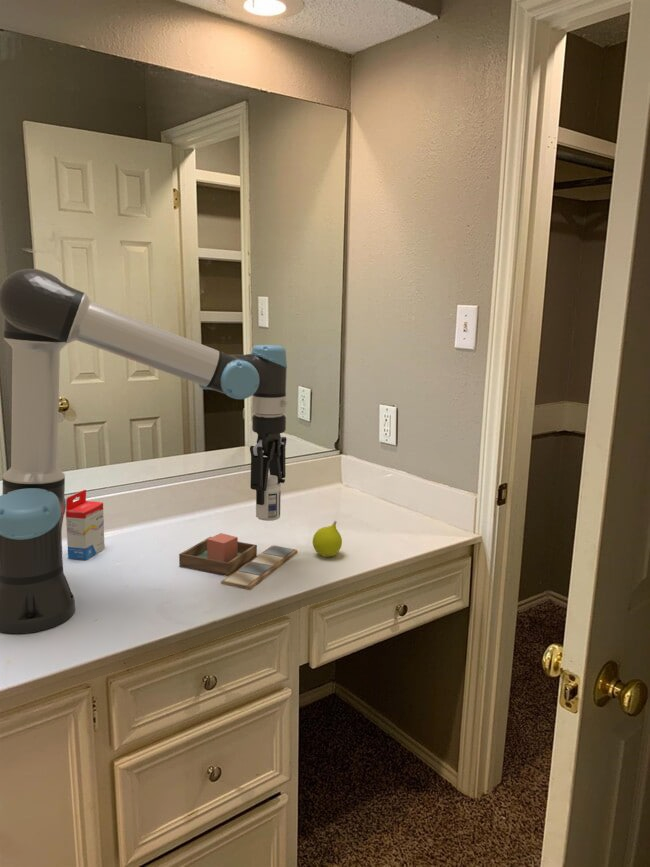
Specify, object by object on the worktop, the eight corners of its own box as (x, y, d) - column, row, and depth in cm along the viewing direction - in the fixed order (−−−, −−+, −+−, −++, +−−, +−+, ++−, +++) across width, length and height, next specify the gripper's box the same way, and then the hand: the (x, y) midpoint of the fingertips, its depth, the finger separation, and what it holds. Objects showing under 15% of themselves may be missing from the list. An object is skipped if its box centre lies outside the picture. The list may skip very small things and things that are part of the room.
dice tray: (228, 576, 145) (228, 563, 145) (179, 566, 150) (179, 554, 149) (256, 556, 157) (256, 545, 156) (210, 548, 162) (210, 536, 161)
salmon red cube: (223, 543, 150) (237, 537, 154) (207, 539, 152) (221, 533, 157) (223, 564, 151) (237, 557, 155) (207, 559, 153) (221, 552, 158)
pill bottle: (265, 512, 155) (266, 472, 153) (284, 516, 152) (285, 476, 151) (252, 518, 150) (252, 477, 149) (271, 522, 148) (272, 480, 146)
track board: (249, 589, 139) (249, 586, 139) (221, 583, 141) (221, 580, 141) (297, 552, 160) (297, 549, 160) (272, 547, 163) (272, 544, 163)
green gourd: (346, 558, 157) (348, 518, 156) (320, 563, 154) (321, 522, 152) (332, 548, 164) (334, 510, 162) (307, 552, 160) (308, 513, 159)
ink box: (86, 561, 152) (83, 500, 149) (67, 558, 153) (64, 498, 150) (105, 548, 160) (103, 490, 157) (87, 546, 161) (84, 488, 158)
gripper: (264, 422, 137) (264, 527, 142) (301, 410, 154) (299, 505, 158) (233, 419, 140) (233, 522, 144) (272, 407, 157) (272, 501, 161)
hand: (268, 513), depth 151 cm, fingers closed on pill bottle, 5 cm apart
